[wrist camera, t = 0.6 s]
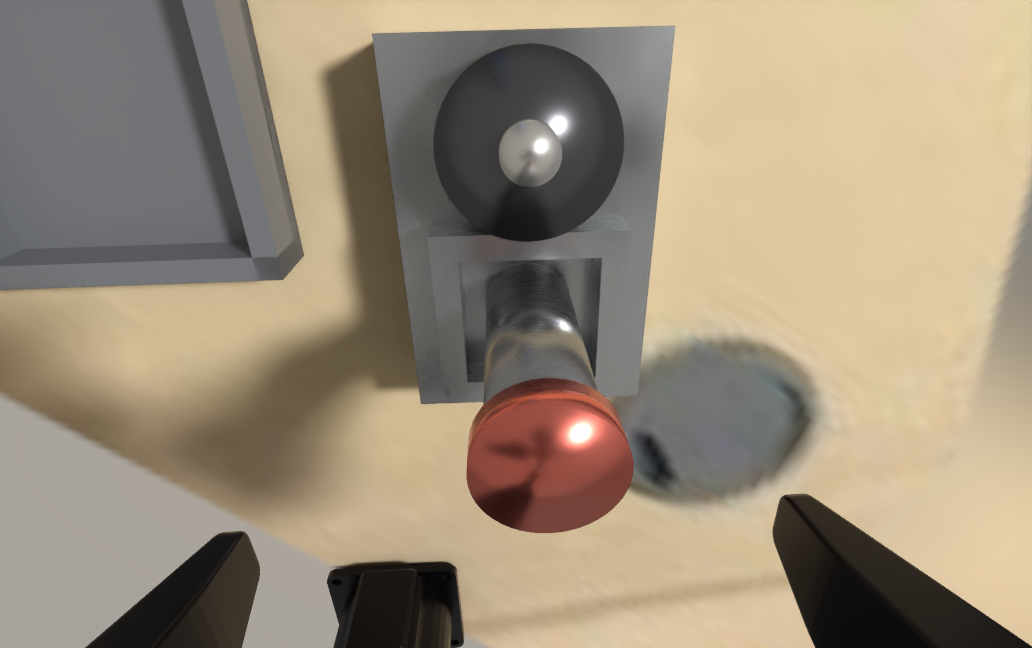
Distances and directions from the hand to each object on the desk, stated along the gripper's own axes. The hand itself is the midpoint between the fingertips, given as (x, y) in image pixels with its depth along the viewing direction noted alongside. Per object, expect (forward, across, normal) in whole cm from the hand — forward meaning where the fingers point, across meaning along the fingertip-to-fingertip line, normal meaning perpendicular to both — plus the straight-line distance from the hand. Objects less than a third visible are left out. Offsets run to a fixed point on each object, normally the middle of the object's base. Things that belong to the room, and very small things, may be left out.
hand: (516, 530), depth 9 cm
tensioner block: (+12, -1, -2) cm, 12 cm away
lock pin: (+10, -1, 0) cm, 10 cm away
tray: (+12, +12, -7) cm, 19 cm away
